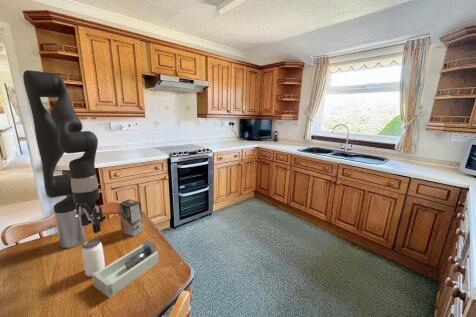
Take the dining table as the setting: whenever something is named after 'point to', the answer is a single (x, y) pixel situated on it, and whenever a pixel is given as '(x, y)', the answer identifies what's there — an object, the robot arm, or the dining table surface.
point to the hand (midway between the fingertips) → (91, 228)
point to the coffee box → (131, 217)
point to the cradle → (122, 273)
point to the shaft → (141, 255)
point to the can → (92, 257)
